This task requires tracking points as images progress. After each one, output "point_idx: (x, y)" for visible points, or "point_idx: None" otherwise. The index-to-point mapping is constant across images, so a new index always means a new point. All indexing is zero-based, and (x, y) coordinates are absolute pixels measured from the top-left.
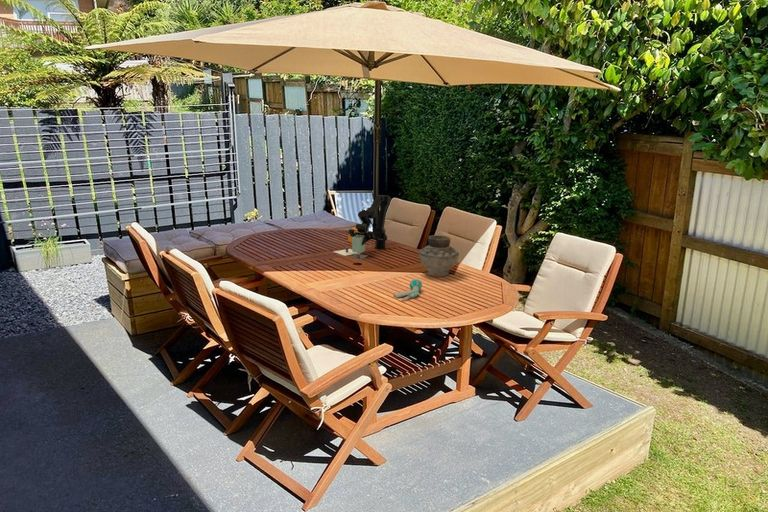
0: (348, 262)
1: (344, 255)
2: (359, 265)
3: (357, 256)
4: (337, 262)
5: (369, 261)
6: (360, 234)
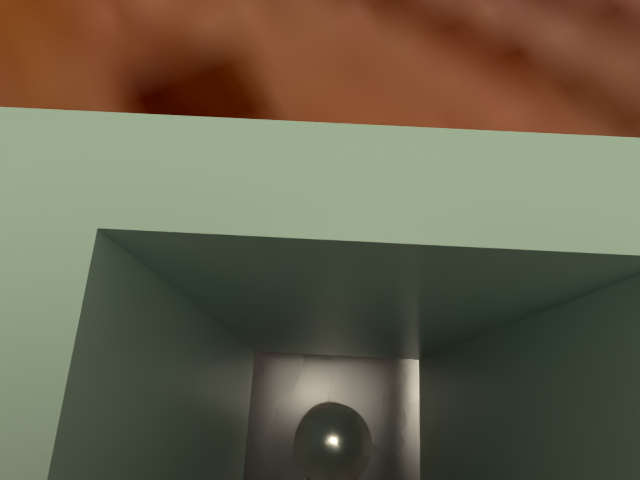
0: (361, 119)
1: None
2: (138, 49)
3: (340, 403)
4: (507, 56)
5: None
6: None
